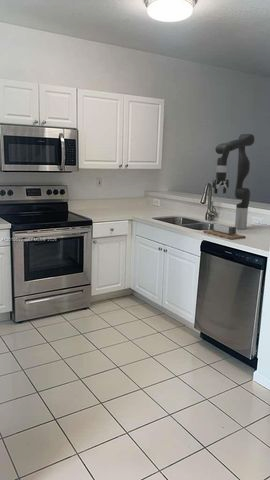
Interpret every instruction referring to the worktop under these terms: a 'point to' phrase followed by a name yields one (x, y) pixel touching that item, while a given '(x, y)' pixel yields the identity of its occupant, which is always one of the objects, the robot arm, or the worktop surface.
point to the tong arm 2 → (230, 226)
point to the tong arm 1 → (224, 228)
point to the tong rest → (224, 234)
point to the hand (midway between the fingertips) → (220, 193)
